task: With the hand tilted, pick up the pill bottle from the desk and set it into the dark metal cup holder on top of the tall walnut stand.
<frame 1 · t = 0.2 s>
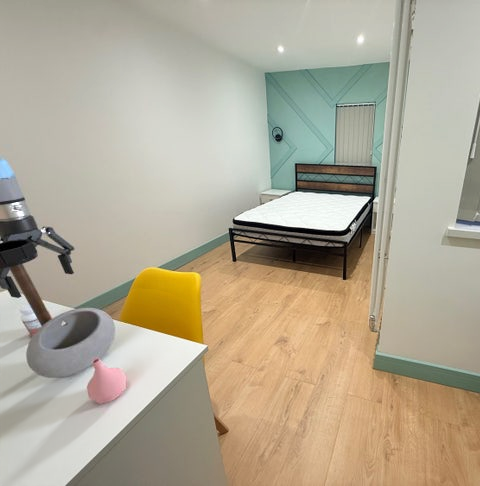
hand: (45, 284, 80), 20 cm above the table, tool pointing down, fingers open, 13 cm apart
pill bottle: (45, 333, 88), on the table
planter: (88, 367, 76), on the table
pink vase: (112, 395, 67), on the table
stand: (66, 358, 78), on the table
holder: (11, 257, 65), resting on stand
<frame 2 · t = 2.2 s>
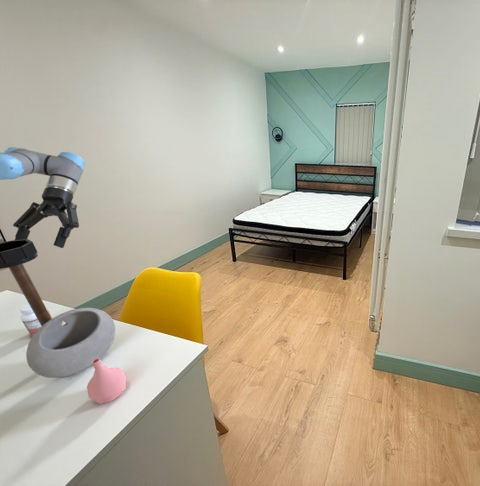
hand: (37, 247, 87), 27 cm above the table, tool tilted 45°, fingers open, 13 cm apart
nothing on the table moved.
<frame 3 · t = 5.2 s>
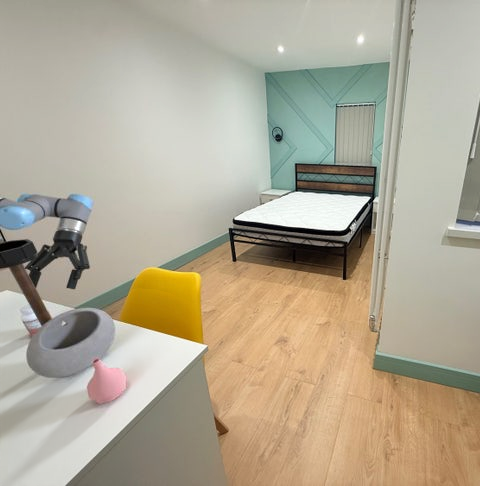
hand: (50, 289, 90), 12 cm above the table, tool tilted 45°, fingers open, 13 cm apart
nothing on the table moved.
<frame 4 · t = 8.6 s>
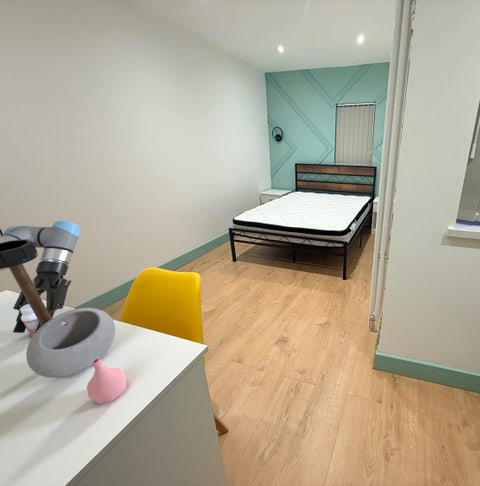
hand: (29, 332, 84), 4 cm above the table, tool tilted 45°, fingers closed on pill bottle, 6 cm apart
pill bottle: (45, 333, 88), on the table, touching gripper
everything else where it was.
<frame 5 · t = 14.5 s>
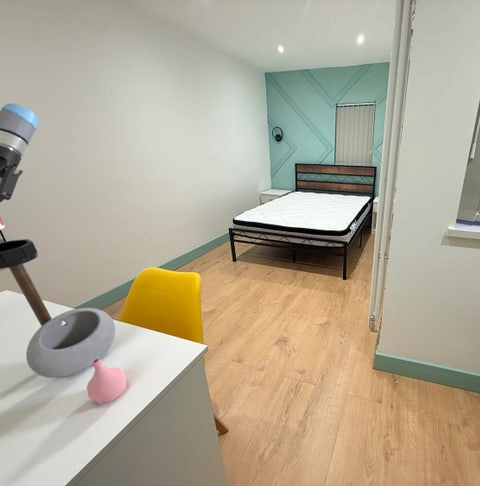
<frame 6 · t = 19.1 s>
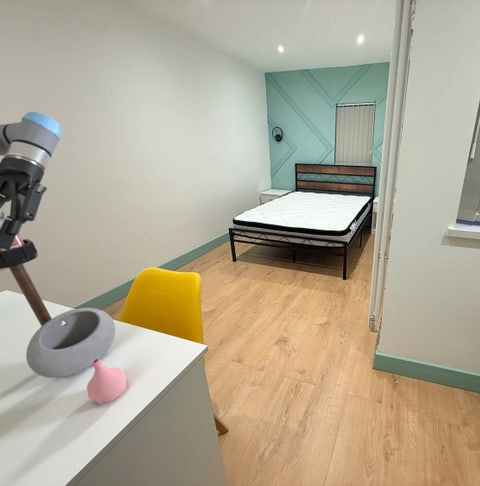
pill bottle: (10, 255, 64), point 34 cm above the table, touching gripper
everything else where it was.
when the fingers open (38 cm above the table, at t = 20.6 s): pill bottle stays where it is, point 34 cm above the table.
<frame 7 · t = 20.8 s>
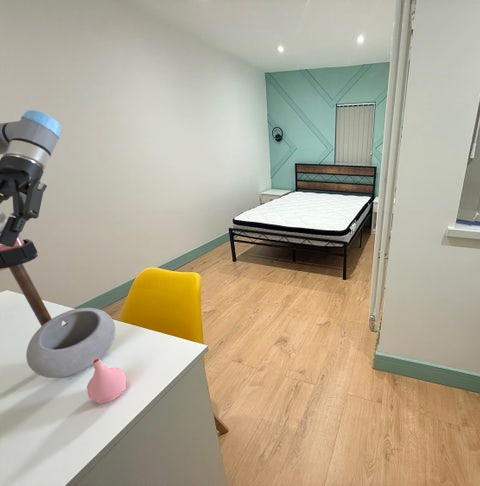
pill bottle: (12, 257, 65), point 34 cm above the table
everything else where it was.
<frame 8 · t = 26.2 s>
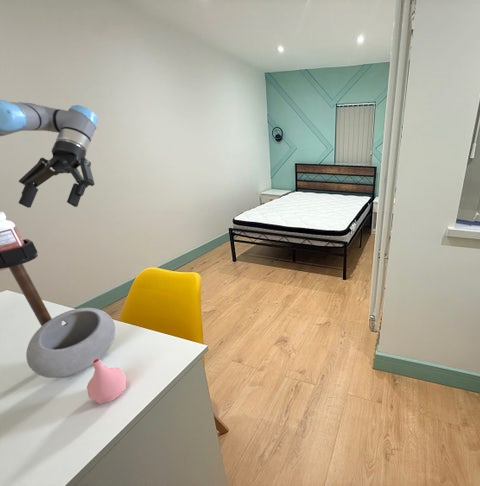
hand: (48, 205, 77), 43 cm above the table, tool tilted 45°, fingers open, 13 cm apart
pill bottle: (12, 257, 65), point 34 cm above the table, touching holder
everything else where it was.
at the end: pill bottle 0.1 cm off-centre on the holder, point 0.0 cm above the holder's base; pill bottle tilted 0°; the gripper is holding nothing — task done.
